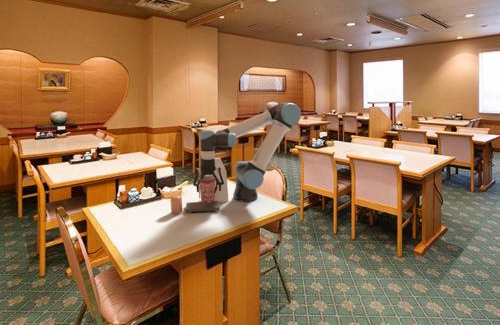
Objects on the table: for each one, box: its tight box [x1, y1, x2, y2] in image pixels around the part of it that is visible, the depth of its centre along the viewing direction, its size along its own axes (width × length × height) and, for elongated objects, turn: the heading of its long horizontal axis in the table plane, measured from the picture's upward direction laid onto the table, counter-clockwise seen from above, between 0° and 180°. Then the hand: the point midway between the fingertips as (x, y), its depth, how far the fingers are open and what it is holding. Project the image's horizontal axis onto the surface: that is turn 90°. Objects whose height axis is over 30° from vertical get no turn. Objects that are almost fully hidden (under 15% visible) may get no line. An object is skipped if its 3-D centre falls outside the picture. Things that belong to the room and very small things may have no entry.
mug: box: [198, 175, 218, 203], centre depth 182 cm, size 13×9×14 cm
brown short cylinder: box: [169, 194, 184, 215], centre depth 177 cm, size 6×6×9 cm
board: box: [185, 201, 220, 214], centre depth 183 cm, size 18×12×2 cm, turn 99°
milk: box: [205, 157, 229, 203], centre depth 197 cm, size 12×12×26 cm
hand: (209, 197), depth 183 cm, fingers closed on mug, 10 cm apart
